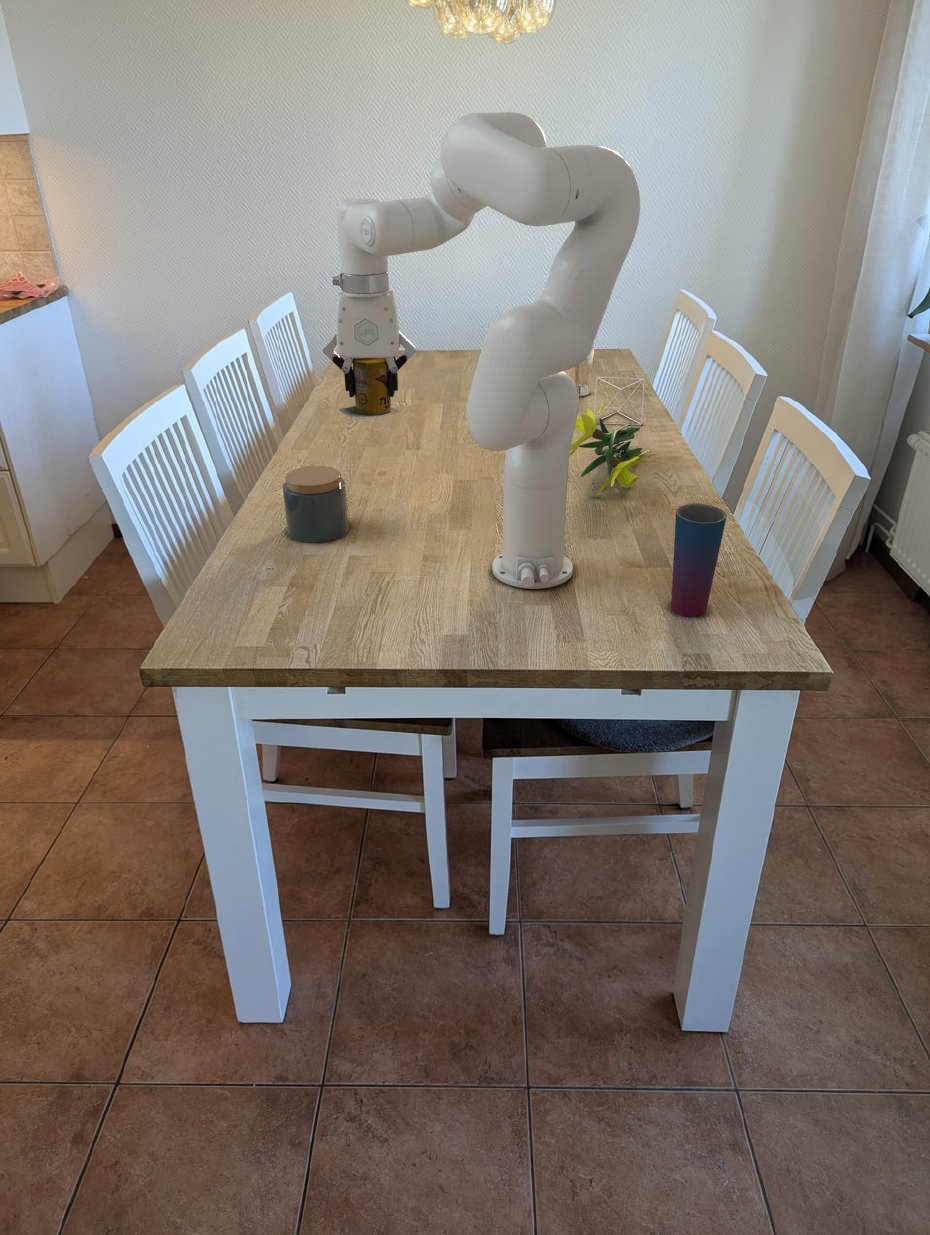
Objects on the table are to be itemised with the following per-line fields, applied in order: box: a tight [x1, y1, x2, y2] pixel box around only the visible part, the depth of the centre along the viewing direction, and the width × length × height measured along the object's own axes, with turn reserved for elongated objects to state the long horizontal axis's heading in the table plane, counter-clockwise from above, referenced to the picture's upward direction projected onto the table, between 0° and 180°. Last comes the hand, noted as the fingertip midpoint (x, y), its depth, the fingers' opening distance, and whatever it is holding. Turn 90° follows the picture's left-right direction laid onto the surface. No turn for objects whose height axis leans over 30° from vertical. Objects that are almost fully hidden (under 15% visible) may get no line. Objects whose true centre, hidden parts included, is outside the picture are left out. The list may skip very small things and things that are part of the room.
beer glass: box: [566, 342, 595, 397], centre depth 226 cm, size 7×7×15 cm
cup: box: [670, 503, 728, 618], centre depth 129 cm, size 7×7×15 cm
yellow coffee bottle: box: [337, 358, 401, 421], centre depth 154 cm, size 7×8×12 cm
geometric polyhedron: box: [593, 376, 646, 426], centre depth 208 cm, size 12×11×9 cm
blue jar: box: [282, 465, 349, 544], centre depth 155 cm, size 10×10×10 cm
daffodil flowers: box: [570, 397, 654, 498], centre depth 174 cm, size 17×15×35 cm
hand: (372, 394), depth 155 cm, fingers closed on yellow coffee bottle, 6 cm apart
